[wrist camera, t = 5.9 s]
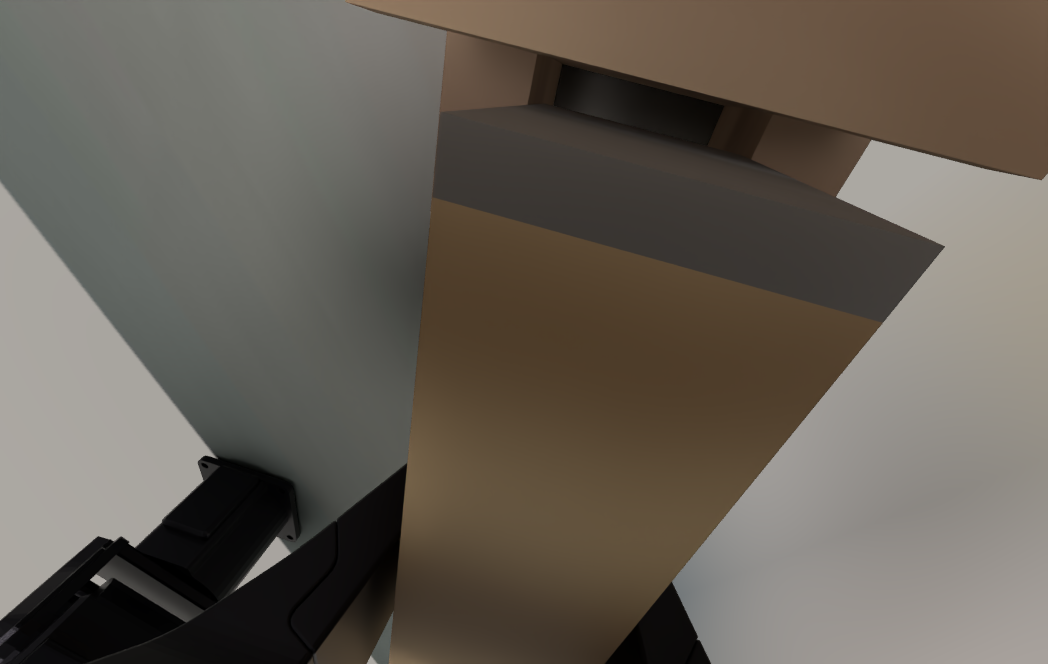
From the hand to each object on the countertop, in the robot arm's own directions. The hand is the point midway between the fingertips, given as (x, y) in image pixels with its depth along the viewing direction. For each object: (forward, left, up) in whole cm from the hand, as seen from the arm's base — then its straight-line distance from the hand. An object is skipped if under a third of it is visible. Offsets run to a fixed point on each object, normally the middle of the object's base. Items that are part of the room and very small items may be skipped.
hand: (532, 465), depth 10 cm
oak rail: (0, 0, -1) cm, 1 cm away
